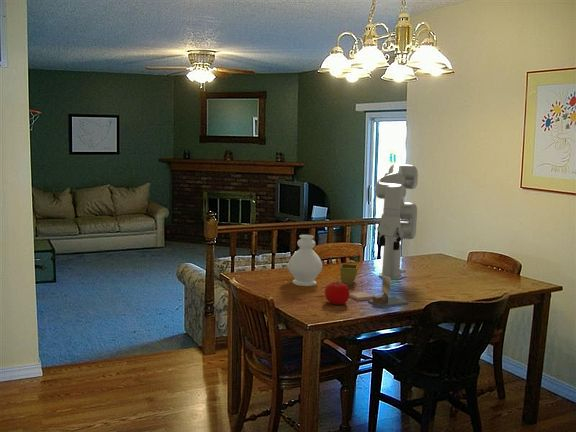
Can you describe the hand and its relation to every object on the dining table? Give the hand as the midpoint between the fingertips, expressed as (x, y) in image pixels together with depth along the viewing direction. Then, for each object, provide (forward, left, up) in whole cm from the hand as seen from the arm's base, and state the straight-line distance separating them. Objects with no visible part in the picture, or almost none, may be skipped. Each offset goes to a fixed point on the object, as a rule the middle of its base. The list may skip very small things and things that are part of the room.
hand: (389, 247), depth 293 cm
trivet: (0, +2, -26) cm, 26 cm away
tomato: (+23, -8, -27) cm, 36 cm away
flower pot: (-6, -36, -26) cm, 45 cm away
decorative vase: (+16, -45, -26) cm, 55 cm away
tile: (+1, -10, -26) cm, 28 cm away
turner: (+2, +2, -19) cm, 20 cm away
